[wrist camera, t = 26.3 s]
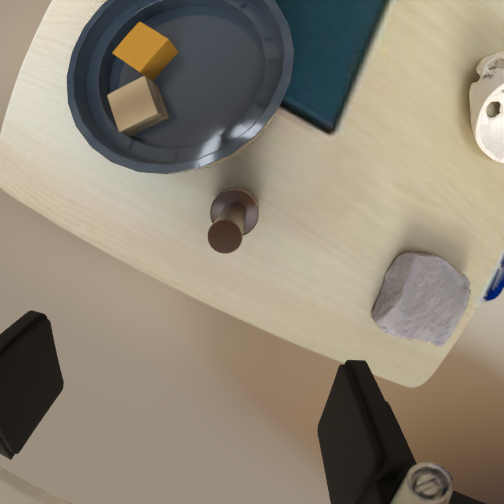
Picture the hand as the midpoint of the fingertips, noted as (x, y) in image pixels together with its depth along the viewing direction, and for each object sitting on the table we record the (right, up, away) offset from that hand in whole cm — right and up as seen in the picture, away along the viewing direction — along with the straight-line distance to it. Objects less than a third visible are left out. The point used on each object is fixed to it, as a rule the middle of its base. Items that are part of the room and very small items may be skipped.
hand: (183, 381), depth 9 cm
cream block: (-9, +18, +19) cm, 28 cm away
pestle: (0, +8, +23) cm, 24 cm away
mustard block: (-8, +24, +18) cm, 31 cm away
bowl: (-5, +22, +19) cm, 29 cm away
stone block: (+22, -1, +25) cm, 34 cm away
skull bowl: (+32, +22, +19) cm, 43 cm away
